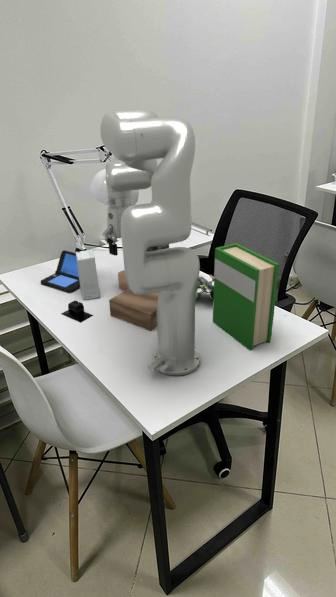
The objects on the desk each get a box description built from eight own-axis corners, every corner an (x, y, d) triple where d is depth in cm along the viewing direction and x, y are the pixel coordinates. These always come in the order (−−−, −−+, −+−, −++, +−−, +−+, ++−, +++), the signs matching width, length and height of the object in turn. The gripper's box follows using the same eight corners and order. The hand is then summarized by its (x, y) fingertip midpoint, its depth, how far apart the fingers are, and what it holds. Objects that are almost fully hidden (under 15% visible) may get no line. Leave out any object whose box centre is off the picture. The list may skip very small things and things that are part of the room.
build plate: (98, 317, 136) (97, 304, 134) (81, 327, 131) (79, 314, 129) (72, 306, 143) (70, 293, 141) (55, 315, 138) (53, 302, 136)
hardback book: (270, 342, 121) (279, 263, 109) (249, 350, 117) (256, 270, 106) (232, 315, 134) (236, 243, 123) (212, 322, 131) (215, 248, 120)
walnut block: (150, 331, 127) (150, 314, 125) (110, 316, 136) (109, 300, 133) (181, 309, 139) (180, 293, 136) (142, 297, 147) (141, 281, 144)
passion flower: (211, 313, 146) (230, 294, 138) (186, 317, 140) (203, 297, 132) (198, 285, 151) (216, 265, 142) (173, 288, 145) (189, 267, 136)
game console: (39, 284, 157) (35, 261, 153) (66, 271, 167) (62, 249, 163) (70, 294, 150) (66, 270, 145) (96, 279, 160) (93, 257, 155)
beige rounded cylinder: (127, 292, 150) (126, 277, 147) (116, 288, 153) (114, 274, 150) (136, 286, 154) (135, 272, 151) (125, 282, 156) (124, 269, 154)
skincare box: (100, 298, 146) (96, 257, 139) (82, 300, 145) (77, 259, 138) (97, 287, 153) (93, 248, 146) (80, 290, 152) (75, 250, 145)
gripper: (110, 209, 131) (114, 261, 139) (145, 196, 143) (147, 244, 151) (92, 205, 135) (97, 255, 143) (128, 192, 147) (131, 239, 155)
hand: (123, 249), depth 147 cm, fingers open, 9 cm apart
